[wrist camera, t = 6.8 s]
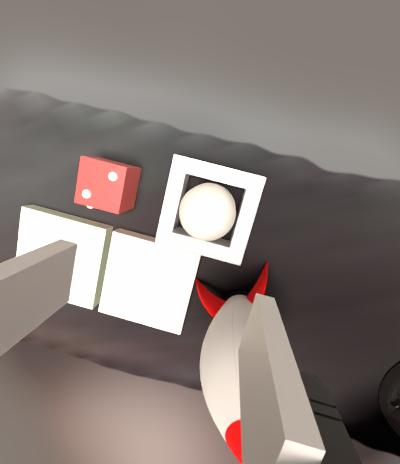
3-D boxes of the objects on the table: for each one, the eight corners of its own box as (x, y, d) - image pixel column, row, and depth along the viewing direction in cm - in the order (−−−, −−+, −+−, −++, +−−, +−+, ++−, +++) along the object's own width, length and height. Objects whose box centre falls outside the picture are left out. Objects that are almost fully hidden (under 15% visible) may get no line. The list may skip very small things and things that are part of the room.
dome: (241, 189, 39) (243, 194, 32) (227, 239, 41) (227, 254, 34) (191, 176, 40) (181, 178, 32) (179, 226, 41) (167, 238, 34)
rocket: (213, 339, 46) (193, 531, 22) (195, 278, 44) (150, 412, 20) (284, 326, 44) (348, 517, 20) (267, 261, 42) (316, 385, 18)
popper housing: (263, 176, 40) (266, 177, 36) (239, 256, 42) (240, 265, 39) (179, 155, 40) (174, 153, 36) (161, 235, 43) (154, 242, 39)
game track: (202, 250, 43) (200, 255, 40) (182, 326, 46) (179, 334, 43) (33, 204, 44) (21, 206, 42) (24, 280, 47) (13, 286, 45)
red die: (141, 167, 41) (125, 167, 35) (133, 212, 43) (115, 219, 36) (98, 156, 42) (73, 154, 35) (91, 200, 43) (66, 206, 37)
